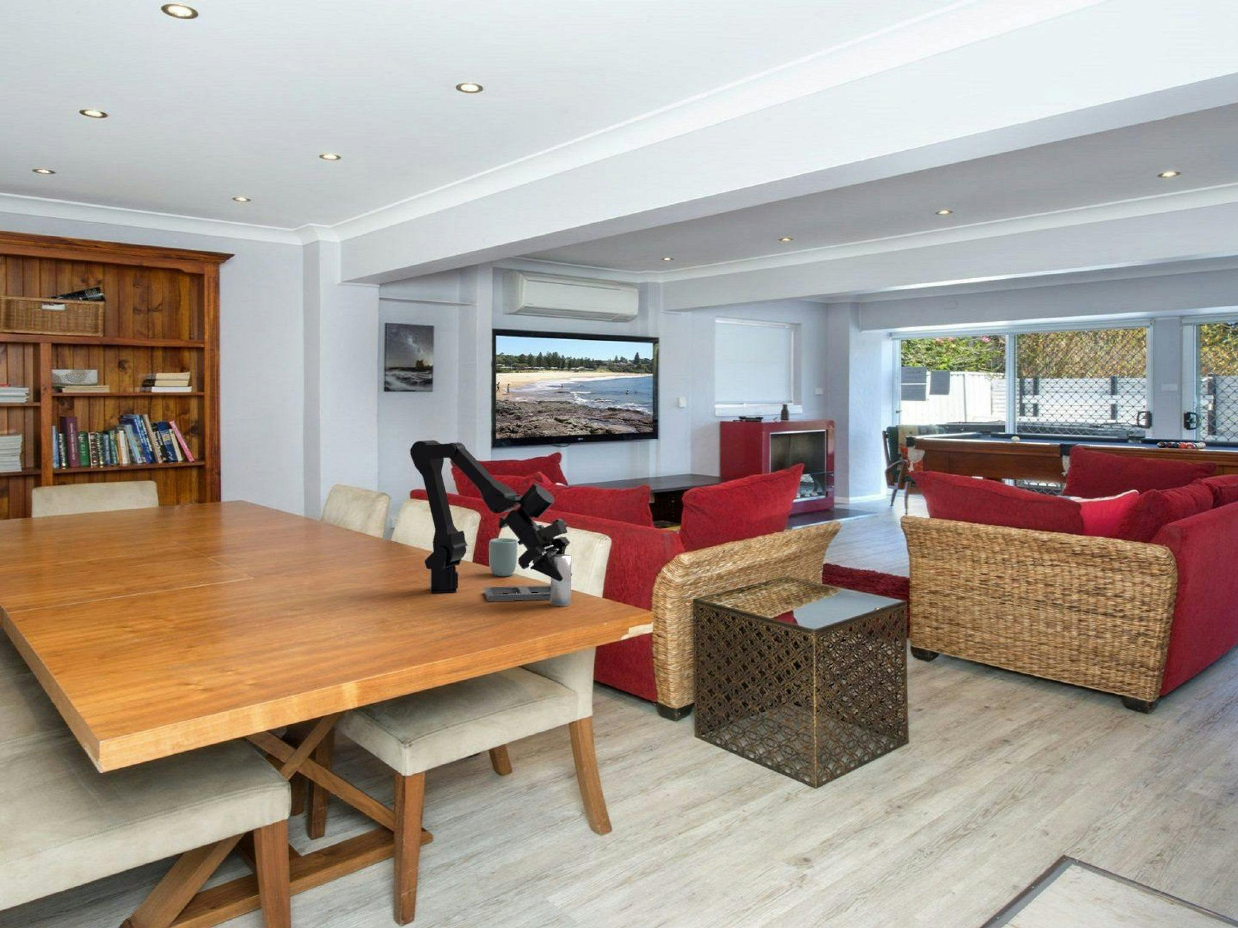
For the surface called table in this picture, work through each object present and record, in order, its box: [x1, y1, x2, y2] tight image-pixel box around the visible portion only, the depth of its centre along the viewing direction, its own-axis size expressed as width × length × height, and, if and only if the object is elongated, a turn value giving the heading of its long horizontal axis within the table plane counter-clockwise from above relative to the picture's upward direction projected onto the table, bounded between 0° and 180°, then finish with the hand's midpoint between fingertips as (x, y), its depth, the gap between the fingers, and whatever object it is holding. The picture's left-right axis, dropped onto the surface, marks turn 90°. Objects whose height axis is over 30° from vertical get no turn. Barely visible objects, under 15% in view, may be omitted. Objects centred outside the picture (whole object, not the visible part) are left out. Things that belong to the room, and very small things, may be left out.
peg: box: [550, 553, 572, 607], centre depth 219 cm, size 5×5×12 cm
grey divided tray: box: [483, 584, 551, 603], centre depth 228 cm, size 20×10×2 cm, turn 105°
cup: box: [488, 537, 518, 577], centre depth 254 cm, size 8×8×10 cm
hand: (566, 578), depth 219 cm, fingers closed on peg, 5 cm apart
